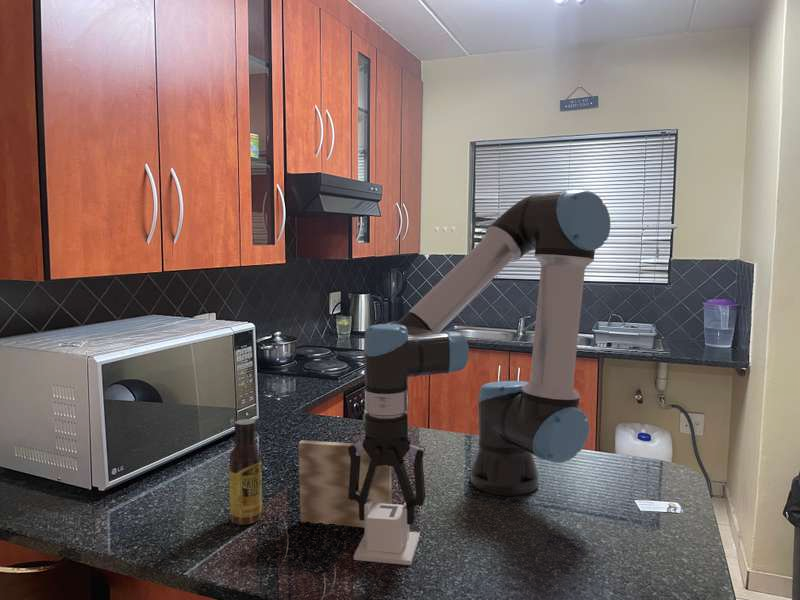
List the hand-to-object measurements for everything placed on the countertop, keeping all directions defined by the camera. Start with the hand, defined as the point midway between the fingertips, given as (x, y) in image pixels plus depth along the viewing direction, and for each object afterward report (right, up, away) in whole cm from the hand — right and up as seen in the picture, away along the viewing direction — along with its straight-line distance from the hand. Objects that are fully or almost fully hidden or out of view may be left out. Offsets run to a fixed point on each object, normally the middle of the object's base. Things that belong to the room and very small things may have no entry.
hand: (387, 538), depth 107 cm
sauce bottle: (-28, -1, +12) cm, 30 cm away
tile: (0, -2, 0) cm, 2 cm away
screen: (-8, -1, +12) cm, 14 cm away
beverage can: (-4, +3, +49) cm, 49 cm away
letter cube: (0, -1, 0) cm, 1 cm away
